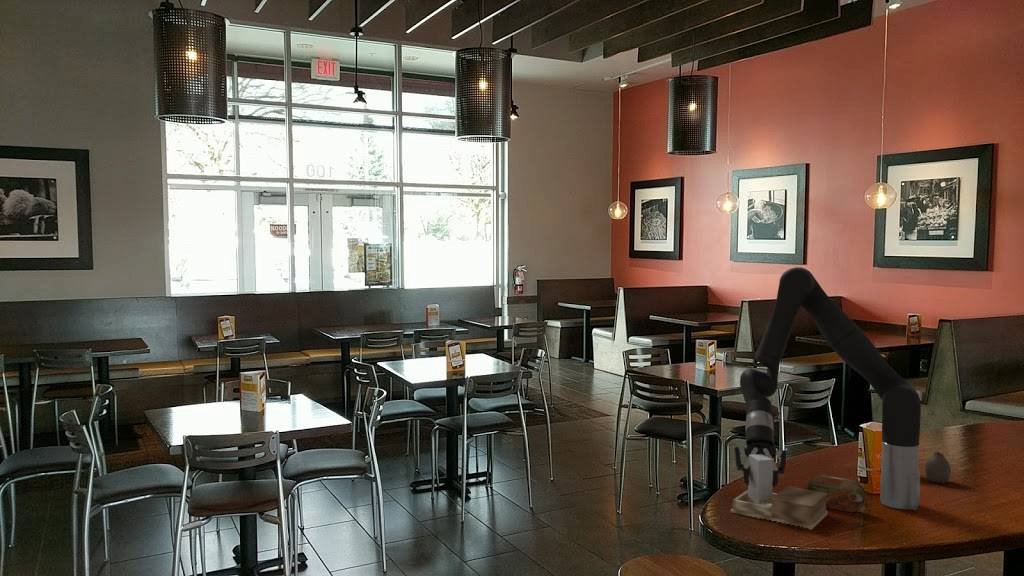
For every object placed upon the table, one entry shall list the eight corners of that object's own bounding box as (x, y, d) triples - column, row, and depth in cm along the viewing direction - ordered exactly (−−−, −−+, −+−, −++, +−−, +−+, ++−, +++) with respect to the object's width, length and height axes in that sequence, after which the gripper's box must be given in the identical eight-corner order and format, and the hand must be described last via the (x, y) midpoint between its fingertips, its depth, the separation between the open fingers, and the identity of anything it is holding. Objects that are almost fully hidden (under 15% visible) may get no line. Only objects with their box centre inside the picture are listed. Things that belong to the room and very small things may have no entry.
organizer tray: (827, 514, 203) (827, 492, 202) (811, 529, 192) (812, 506, 191) (749, 498, 215) (750, 478, 215) (730, 512, 204) (731, 491, 204)
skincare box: (773, 503, 204) (773, 459, 203) (758, 504, 203) (759, 460, 203) (761, 496, 210) (762, 453, 209) (747, 497, 209) (748, 454, 209)
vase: (926, 483, 229) (926, 454, 229) (923, 477, 235) (924, 449, 235) (952, 486, 226) (953, 457, 226) (948, 479, 233) (949, 451, 232)
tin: (806, 503, 212) (807, 473, 211) (810, 500, 214) (811, 471, 214) (863, 515, 202) (864, 484, 201) (867, 512, 204) (868, 481, 204)
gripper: (733, 422, 215) (733, 475, 204) (787, 425, 211) (790, 480, 200) (732, 436, 220) (732, 489, 209) (785, 439, 216) (788, 493, 205)
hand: (760, 484), depth 205 cm, fingers closed on skincare box, 6 cm apart
